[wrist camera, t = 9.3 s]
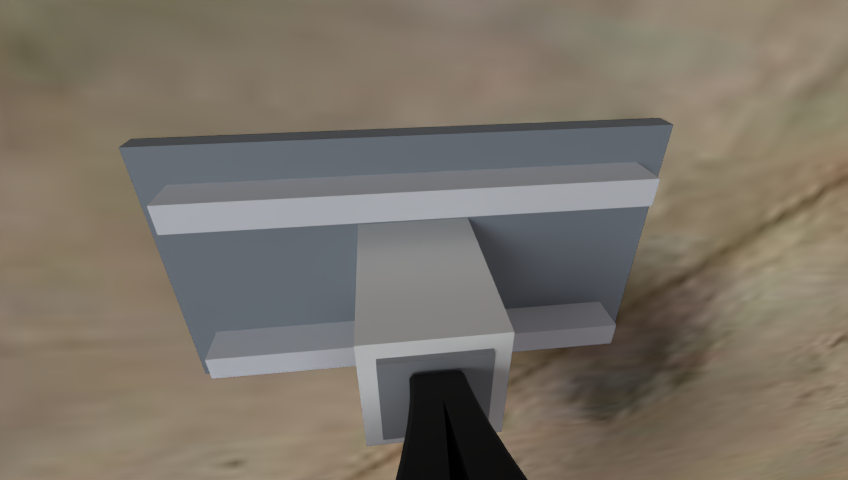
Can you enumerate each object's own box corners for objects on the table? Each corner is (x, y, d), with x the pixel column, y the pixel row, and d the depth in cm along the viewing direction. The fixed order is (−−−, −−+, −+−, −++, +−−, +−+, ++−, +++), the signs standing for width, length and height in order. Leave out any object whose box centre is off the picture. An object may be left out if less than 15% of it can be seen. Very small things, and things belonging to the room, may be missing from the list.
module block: (463, 302, 18) (503, 437, 13) (366, 310, 18) (366, 452, 13) (467, 217, 16) (516, 338, 11) (357, 224, 16) (353, 352, 10)
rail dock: (602, 326, 21) (626, 363, 19) (211, 359, 19) (194, 403, 17) (660, 118, 16) (701, 138, 14) (130, 139, 14) (92, 166, 12)
